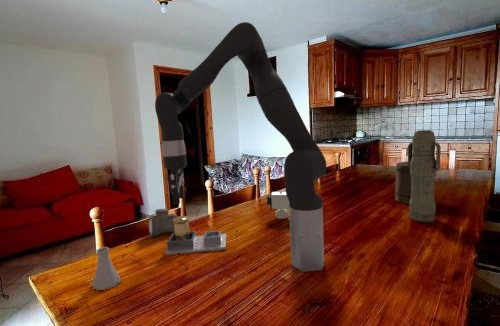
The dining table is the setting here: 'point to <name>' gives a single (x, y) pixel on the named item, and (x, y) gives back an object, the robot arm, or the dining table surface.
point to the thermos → (423, 175)
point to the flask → (105, 271)
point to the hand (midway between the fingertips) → (178, 201)
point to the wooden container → (403, 183)
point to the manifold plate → (197, 243)
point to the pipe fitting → (161, 222)
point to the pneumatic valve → (279, 203)
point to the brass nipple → (181, 228)
